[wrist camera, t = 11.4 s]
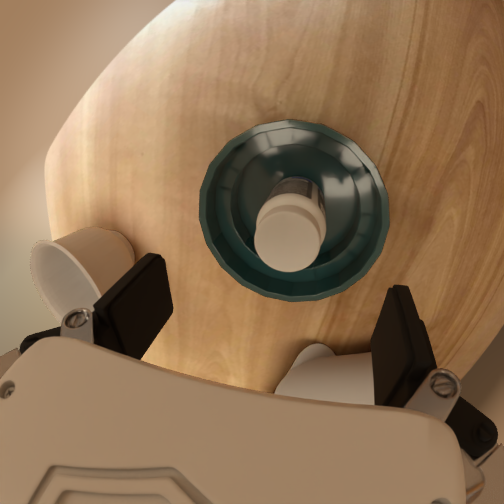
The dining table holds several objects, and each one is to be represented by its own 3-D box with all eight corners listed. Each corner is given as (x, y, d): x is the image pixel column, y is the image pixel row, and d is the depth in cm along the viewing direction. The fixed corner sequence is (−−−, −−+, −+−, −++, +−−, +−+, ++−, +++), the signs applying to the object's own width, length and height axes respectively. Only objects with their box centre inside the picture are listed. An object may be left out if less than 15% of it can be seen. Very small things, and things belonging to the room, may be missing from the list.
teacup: (160, 319, 36) (122, 373, 27) (78, 258, 35) (31, 296, 26) (193, 255, 30) (145, 313, 21) (92, 186, 29) (28, 218, 20)
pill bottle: (259, 206, 25) (232, 247, 18) (291, 164, 22) (277, 188, 15) (302, 238, 25) (293, 291, 18) (336, 199, 23) (343, 239, 16)
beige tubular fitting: (297, 301, 28) (248, 399, 37) (311, 392, 18) (247, 463, 28) (425, 322, 30) (353, 405, 39) (459, 387, 20) (364, 460, 30)
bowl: (226, 112, 22) (203, 111, 18) (391, 139, 20) (408, 145, 16) (216, 255, 29) (198, 281, 25) (354, 283, 27) (359, 315, 22)
